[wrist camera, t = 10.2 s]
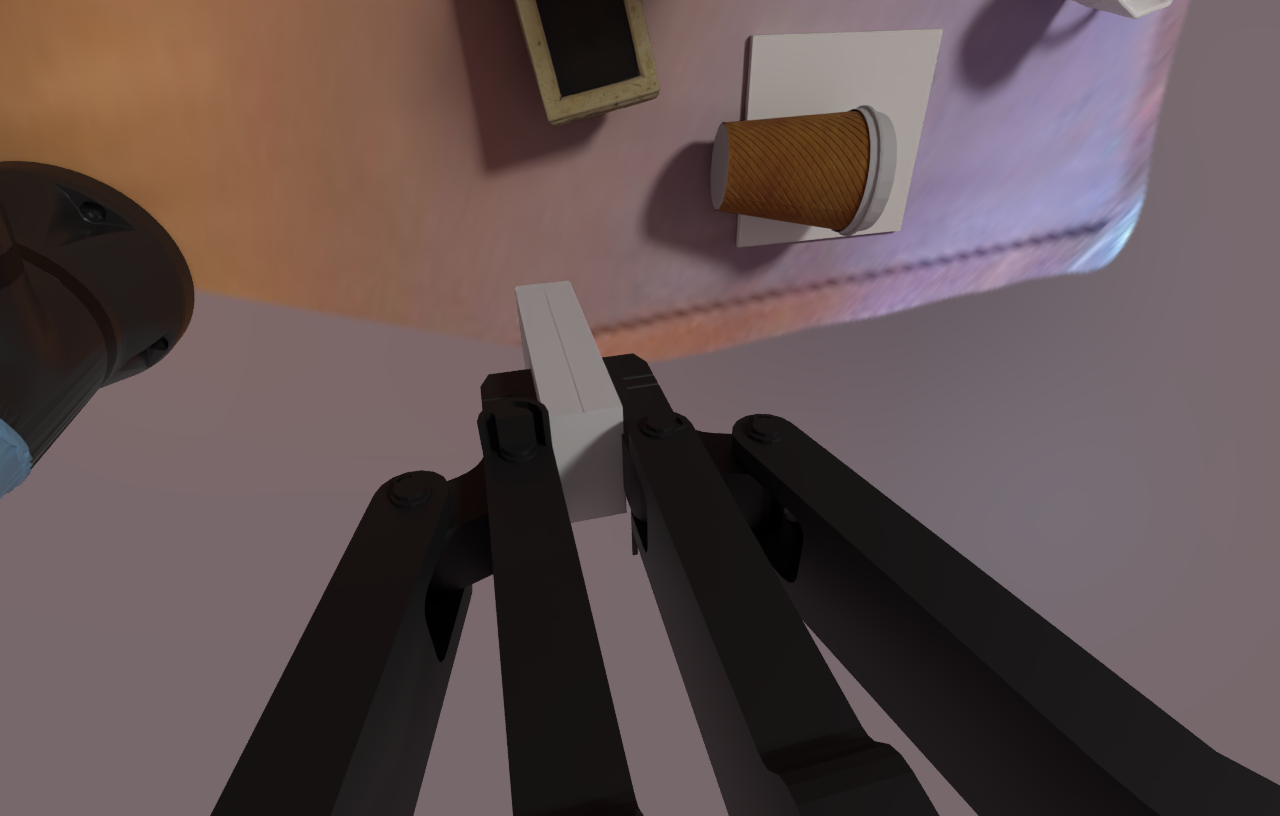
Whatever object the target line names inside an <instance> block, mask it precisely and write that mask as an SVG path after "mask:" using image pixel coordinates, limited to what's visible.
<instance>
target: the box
mask: <svg viewBox="0 0 1280 816" xmlns="http://www.w3.org/2000/svg"><path fill="white" fill-rule="evenodd" d="M514 4H515V7H516V11H517V15H518V18H519V22H520V25H521V29H522V32H523V36H524V40H525V43H526V47H527V50H528V54H529V57H530V61H531V64H532V68H533V71H534V75H535V78H536V82H537V85H538V88H539V92H540V95H541V99H542V102H543V106H544V109H545V113H546V116H547V120H548V122H549V123H550V124H551V125H552V126H554V127H557V126H561V125H565V124H568V123H572V122H576V121H579V120H583V119H586V118H590V117H593V116H596V115H601V114H605V113H608V112H611V111H614V110H617V109H621V108H625V107H629V106H632V105H636V104H639V103H642V102H646V101H649V100H652V99H655V98H656V97H657V96H658V95H659V90H660V86H659V82H658V77H657V72H656V67H655V63H654V58H653V53H652V48H651V44H650V39H649V35H648V30H647V25H646V20H645V15H644V11H643V6H642V1H641V0H514Z"/></svg>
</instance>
